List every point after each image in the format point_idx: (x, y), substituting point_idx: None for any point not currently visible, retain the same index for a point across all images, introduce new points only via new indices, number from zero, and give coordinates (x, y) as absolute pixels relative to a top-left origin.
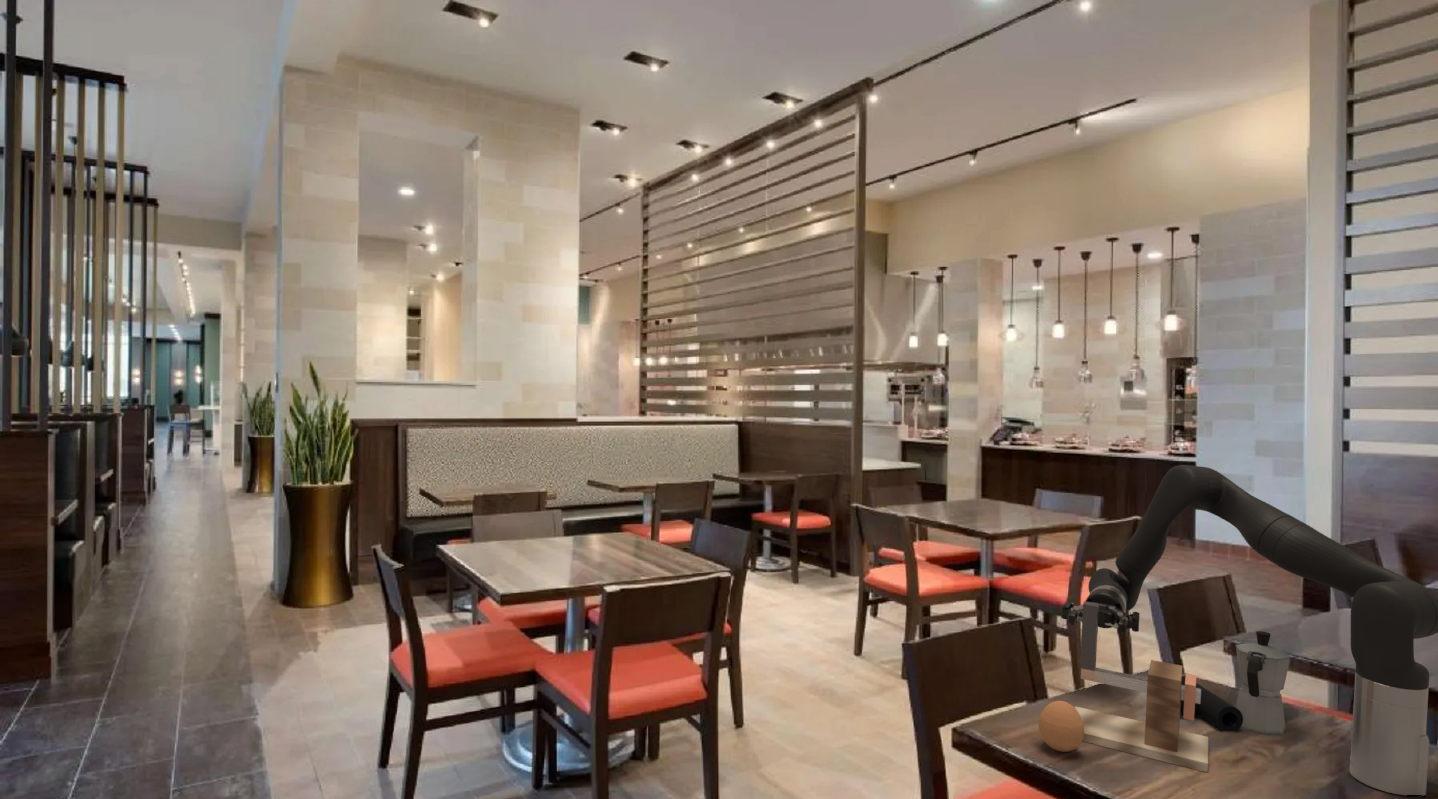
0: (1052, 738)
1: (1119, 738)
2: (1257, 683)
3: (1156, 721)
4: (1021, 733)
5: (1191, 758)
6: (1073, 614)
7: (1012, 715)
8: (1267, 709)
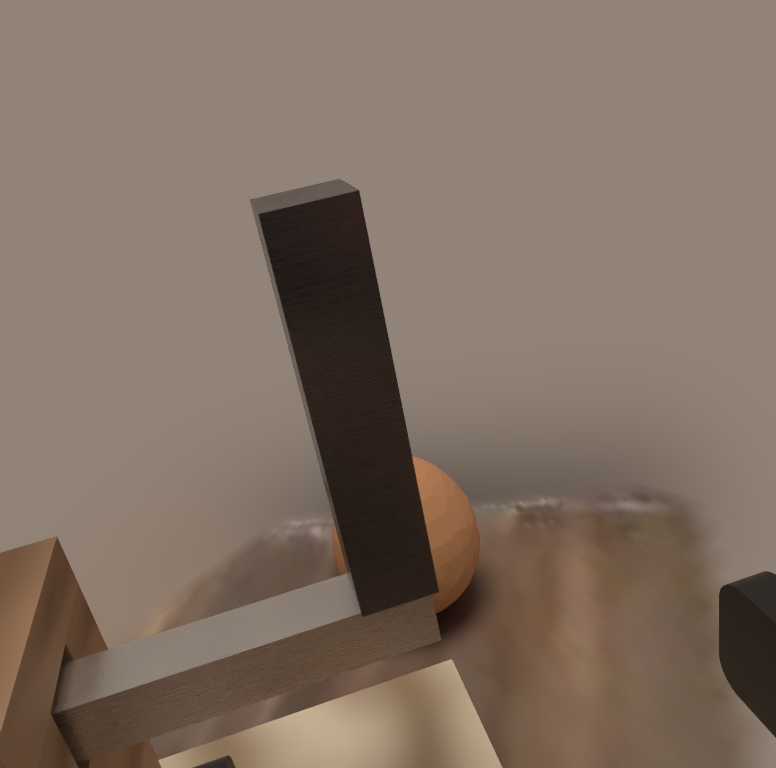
0: None
1: (265, 752)
2: None
3: None
4: (564, 592)
5: None
6: (757, 585)
7: (708, 674)
8: None
